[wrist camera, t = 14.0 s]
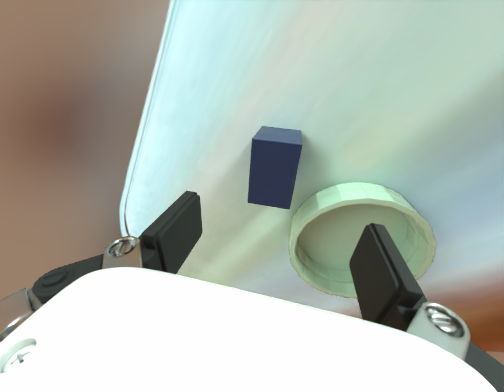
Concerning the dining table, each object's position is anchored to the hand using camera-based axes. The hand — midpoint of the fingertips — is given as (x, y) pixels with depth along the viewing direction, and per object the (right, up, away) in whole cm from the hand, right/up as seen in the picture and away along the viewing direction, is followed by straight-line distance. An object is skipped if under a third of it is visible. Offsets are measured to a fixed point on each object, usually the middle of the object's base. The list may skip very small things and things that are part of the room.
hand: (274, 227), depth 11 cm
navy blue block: (+2, +7, +14) cm, 16 cm away
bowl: (+13, -4, +18) cm, 22 cm away
